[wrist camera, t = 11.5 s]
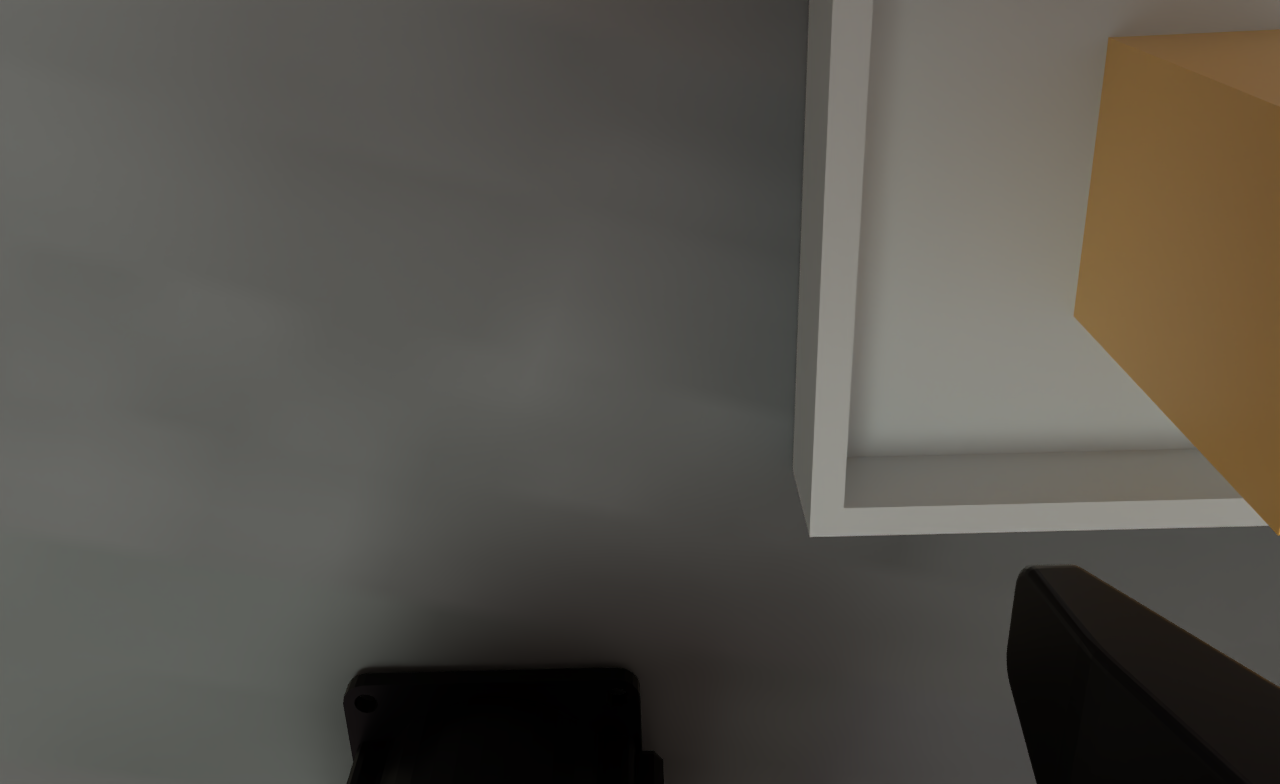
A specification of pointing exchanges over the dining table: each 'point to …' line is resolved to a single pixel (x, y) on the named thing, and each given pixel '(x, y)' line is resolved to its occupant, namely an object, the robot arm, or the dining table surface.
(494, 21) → the dining table surface
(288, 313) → the dining table surface
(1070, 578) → the robot arm
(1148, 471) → the parts tray
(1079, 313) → the orange rectangular block
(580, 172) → the dining table surface
